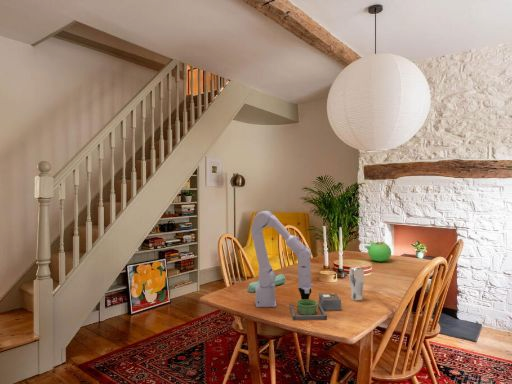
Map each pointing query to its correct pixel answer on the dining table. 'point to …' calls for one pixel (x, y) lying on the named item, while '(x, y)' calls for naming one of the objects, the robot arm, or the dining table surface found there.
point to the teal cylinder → (278, 280)
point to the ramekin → (307, 306)
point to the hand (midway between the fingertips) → (305, 304)
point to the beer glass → (356, 283)
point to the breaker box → (330, 301)
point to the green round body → (379, 251)
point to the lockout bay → (309, 317)
